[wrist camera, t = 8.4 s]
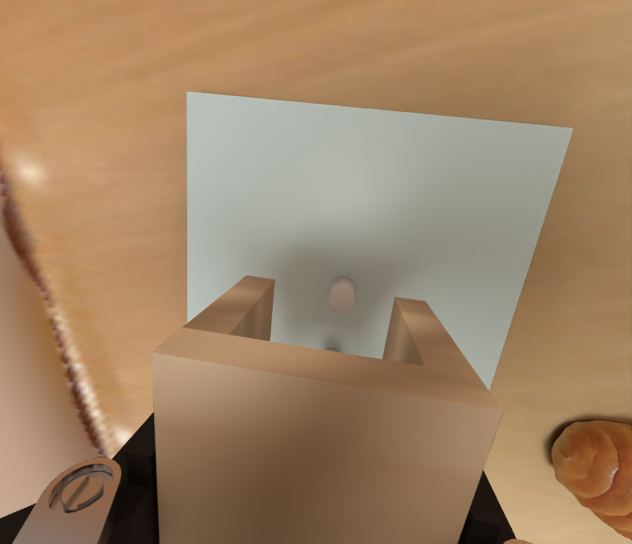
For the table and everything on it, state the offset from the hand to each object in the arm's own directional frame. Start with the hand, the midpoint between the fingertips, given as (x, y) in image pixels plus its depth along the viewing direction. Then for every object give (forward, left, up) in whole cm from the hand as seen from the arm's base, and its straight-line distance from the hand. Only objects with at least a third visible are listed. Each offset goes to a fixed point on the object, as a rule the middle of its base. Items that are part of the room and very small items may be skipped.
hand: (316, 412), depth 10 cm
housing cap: (0, 0, -1) cm, 1 cm away
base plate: (0, 0, -8) cm, 8 cm away
